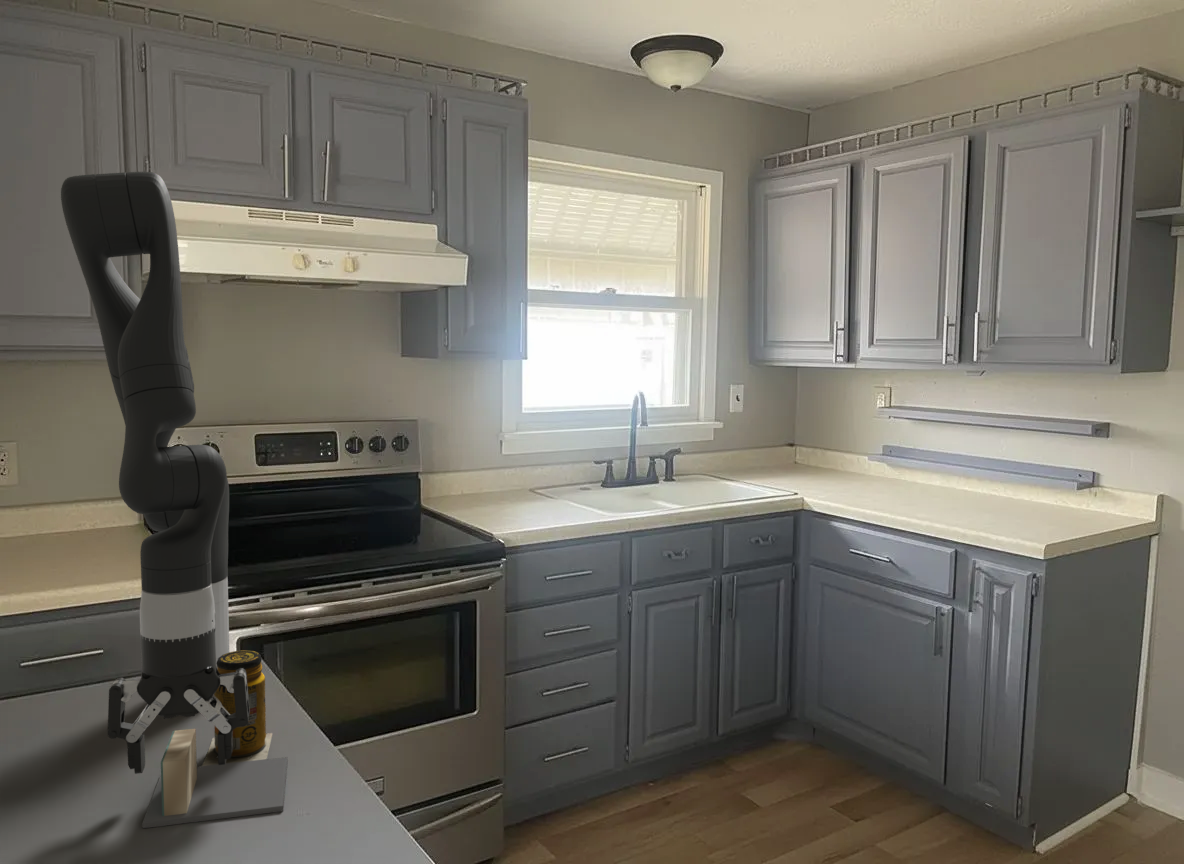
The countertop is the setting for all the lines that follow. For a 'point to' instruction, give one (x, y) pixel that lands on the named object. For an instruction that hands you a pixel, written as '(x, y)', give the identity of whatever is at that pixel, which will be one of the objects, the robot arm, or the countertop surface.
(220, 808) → the mat
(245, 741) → the condiment
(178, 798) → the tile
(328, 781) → the countertop surface
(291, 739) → the countertop surface
